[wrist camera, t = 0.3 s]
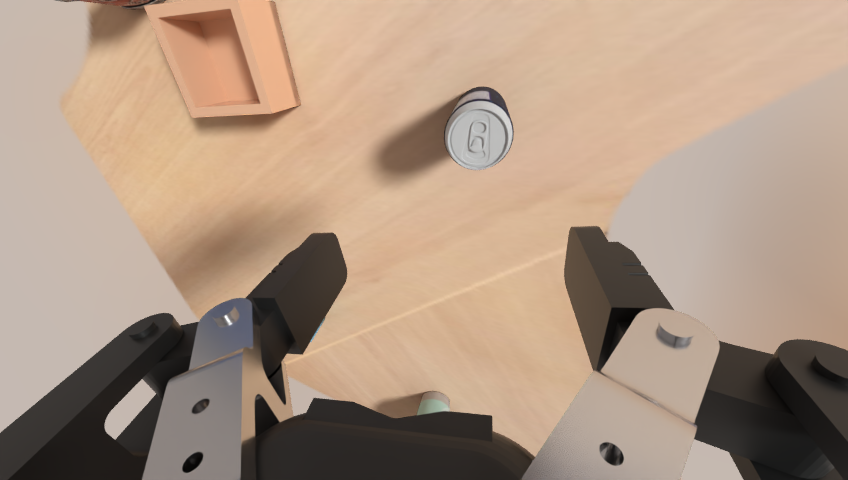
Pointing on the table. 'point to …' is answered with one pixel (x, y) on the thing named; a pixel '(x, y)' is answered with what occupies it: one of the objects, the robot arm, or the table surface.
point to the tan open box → (226, 55)
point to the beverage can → (479, 129)
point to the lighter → (124, 3)
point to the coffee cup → (433, 403)
